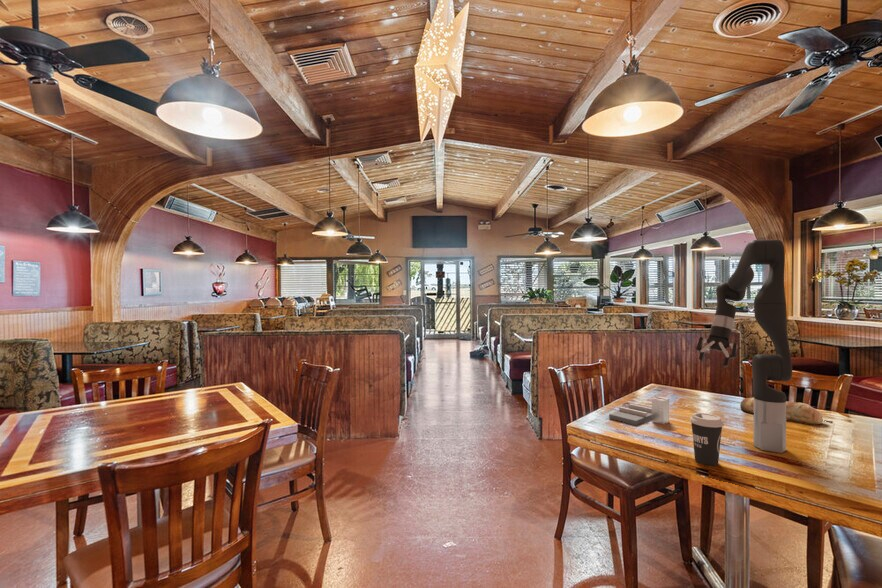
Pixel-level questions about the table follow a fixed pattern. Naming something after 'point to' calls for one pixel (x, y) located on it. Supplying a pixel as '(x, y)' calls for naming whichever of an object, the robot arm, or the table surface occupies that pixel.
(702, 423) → the coffee cup
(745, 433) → the table surface
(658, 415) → the block
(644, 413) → the plate
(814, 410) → the bread loaf
